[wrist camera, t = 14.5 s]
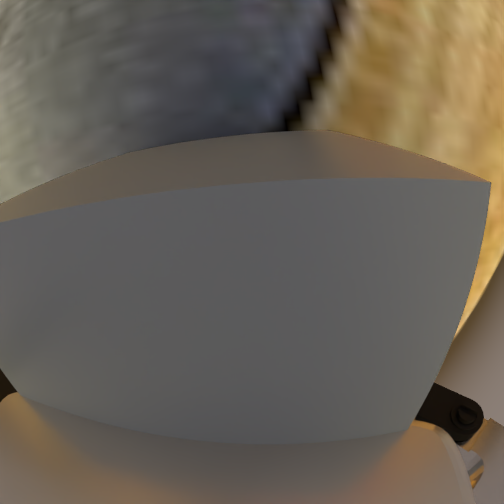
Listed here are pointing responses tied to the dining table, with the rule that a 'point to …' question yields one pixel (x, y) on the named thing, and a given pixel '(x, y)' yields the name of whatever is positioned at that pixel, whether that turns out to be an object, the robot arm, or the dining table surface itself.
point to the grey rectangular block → (241, 286)
